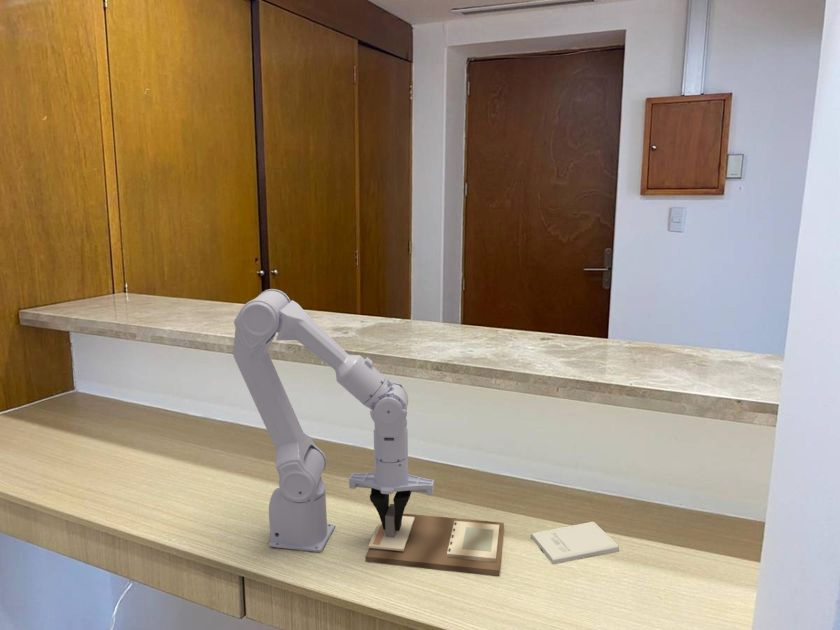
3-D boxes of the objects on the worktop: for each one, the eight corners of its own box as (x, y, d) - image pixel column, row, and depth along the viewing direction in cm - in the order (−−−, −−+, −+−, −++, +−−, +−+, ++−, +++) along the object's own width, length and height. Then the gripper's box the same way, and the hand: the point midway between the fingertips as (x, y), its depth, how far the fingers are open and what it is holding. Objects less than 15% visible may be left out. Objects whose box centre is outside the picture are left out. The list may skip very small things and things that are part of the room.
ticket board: (365, 561, 105) (365, 552, 105) (384, 516, 119) (384, 507, 118) (499, 575, 101) (499, 565, 101) (503, 527, 115) (503, 518, 114)
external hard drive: (618, 554, 108) (552, 567, 104) (592, 528, 116) (530, 539, 112) (619, 545, 107) (552, 558, 104) (593, 520, 115) (530, 531, 112)
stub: (368, 547, 107) (367, 524, 106) (382, 516, 116) (381, 494, 115) (403, 551, 106) (403, 527, 105) (414, 519, 115) (414, 497, 114)
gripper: (342, 462, 105) (345, 536, 108) (429, 469, 103) (429, 544, 106) (354, 444, 112) (356, 514, 115) (436, 450, 109) (436, 521, 112)
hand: (392, 527), depth 111 cm, fingers closed on stub
